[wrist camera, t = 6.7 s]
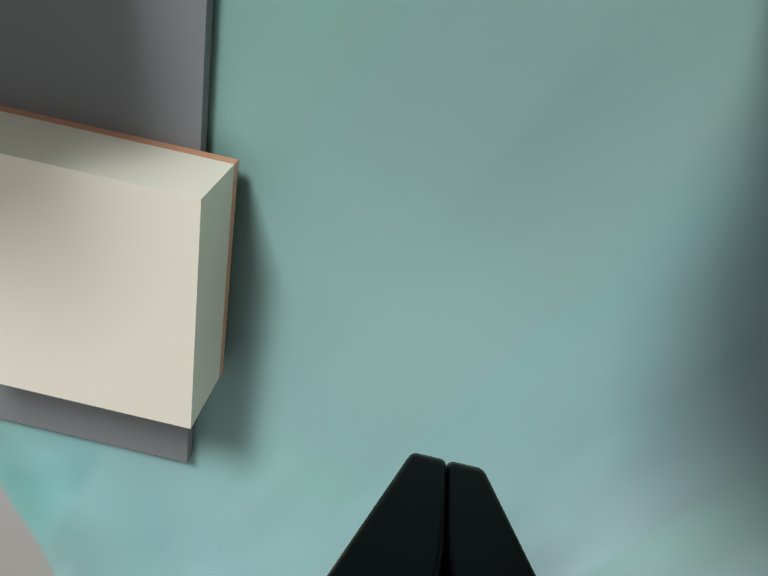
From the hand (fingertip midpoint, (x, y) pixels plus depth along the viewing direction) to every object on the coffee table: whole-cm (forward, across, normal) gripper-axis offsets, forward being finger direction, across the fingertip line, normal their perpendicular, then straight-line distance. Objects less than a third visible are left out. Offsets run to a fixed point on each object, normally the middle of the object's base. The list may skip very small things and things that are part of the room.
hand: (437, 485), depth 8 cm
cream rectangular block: (+11, +6, +6) cm, 14 cm away
